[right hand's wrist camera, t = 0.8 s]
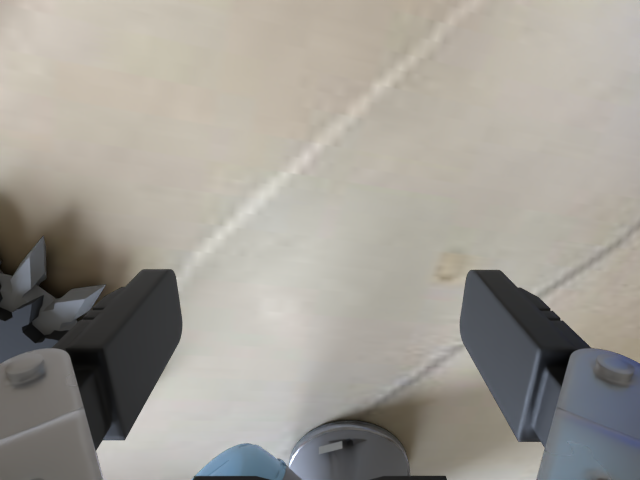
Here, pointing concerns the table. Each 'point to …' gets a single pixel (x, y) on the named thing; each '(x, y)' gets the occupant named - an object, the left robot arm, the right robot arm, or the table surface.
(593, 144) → the table surface
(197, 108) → the table surface
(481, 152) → the table surface
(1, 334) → the decorative piece
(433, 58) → the table surface
